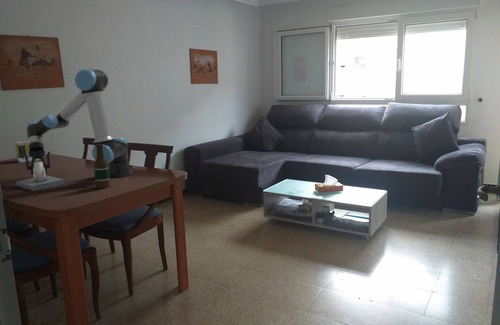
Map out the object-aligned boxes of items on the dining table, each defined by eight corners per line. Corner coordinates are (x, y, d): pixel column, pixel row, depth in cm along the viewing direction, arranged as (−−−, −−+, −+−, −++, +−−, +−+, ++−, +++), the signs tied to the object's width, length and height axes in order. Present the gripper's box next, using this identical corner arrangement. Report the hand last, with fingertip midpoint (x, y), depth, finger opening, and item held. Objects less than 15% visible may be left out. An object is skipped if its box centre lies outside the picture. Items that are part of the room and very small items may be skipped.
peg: (46, 182, 219) (44, 162, 217) (38, 184, 216) (36, 163, 213) (42, 181, 222) (40, 161, 220) (34, 183, 218) (32, 162, 216)
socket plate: (64, 183, 221) (64, 179, 221) (32, 190, 207) (31, 186, 206) (48, 179, 231) (47, 175, 231) (16, 186, 217) (15, 181, 216)
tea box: (39, 158, 300) (37, 139, 298) (42, 160, 293) (40, 141, 290) (17, 161, 291) (15, 141, 288) (19, 163, 284) (17, 143, 281)
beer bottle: (105, 184, 219) (102, 142, 214) (113, 186, 214) (109, 143, 209) (92, 187, 213) (88, 144, 208) (100, 189, 208) (96, 145, 203)
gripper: (52, 147, 233) (57, 180, 222) (19, 150, 224) (22, 183, 213) (52, 140, 227) (57, 172, 216) (18, 142, 219) (21, 176, 208)
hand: (40, 178), depth 215 cm, fingers closed on peg, 4 cm apart
